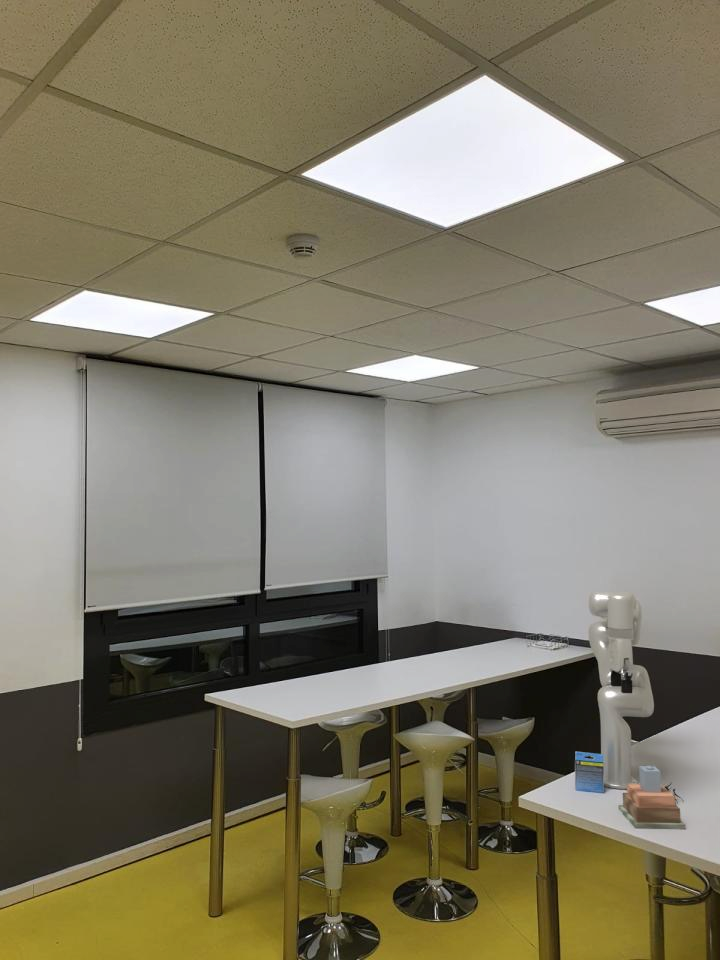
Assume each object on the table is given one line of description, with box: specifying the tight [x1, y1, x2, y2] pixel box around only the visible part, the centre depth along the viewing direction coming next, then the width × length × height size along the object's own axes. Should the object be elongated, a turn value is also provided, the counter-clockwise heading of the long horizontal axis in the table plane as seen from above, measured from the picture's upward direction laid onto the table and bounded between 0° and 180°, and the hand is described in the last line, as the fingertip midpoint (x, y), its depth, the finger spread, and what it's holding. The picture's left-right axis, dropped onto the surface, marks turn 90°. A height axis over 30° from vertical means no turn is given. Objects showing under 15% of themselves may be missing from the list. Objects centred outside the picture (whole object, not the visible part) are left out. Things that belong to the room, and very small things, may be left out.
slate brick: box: [638, 765, 662, 793], centre depth 213 cm, size 4×4×7 cm
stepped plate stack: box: [618, 783, 686, 830], centre depth 212 cm, size 14×14×8 cm
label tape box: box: [574, 751, 605, 794], centre depth 235 cm, size 9×4×12 cm, turn 74°
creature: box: [664, 783, 684, 805], centre depth 226 cm, size 8×5×8 cm
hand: (621, 689), depth 226 cm, fingers open, 9 cm apart
